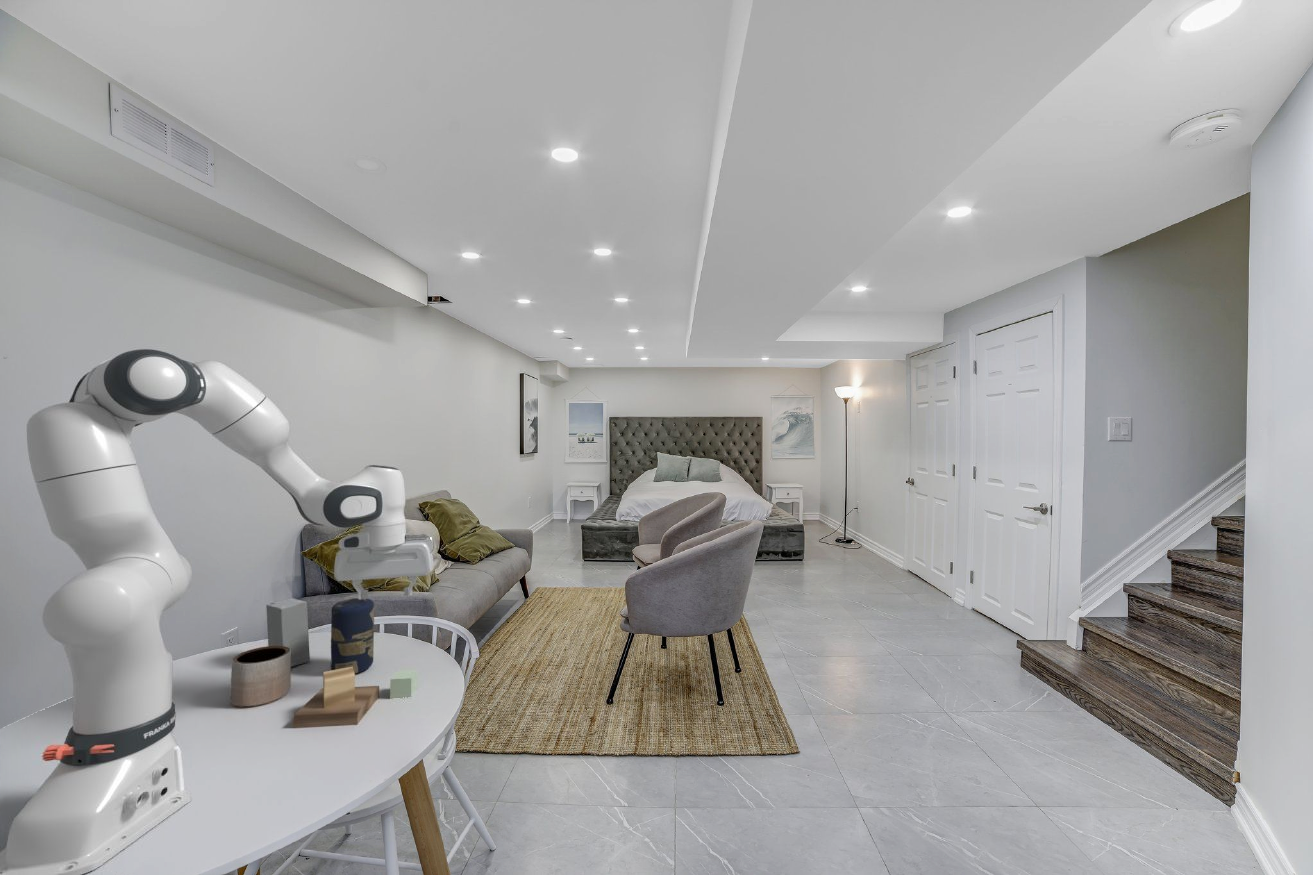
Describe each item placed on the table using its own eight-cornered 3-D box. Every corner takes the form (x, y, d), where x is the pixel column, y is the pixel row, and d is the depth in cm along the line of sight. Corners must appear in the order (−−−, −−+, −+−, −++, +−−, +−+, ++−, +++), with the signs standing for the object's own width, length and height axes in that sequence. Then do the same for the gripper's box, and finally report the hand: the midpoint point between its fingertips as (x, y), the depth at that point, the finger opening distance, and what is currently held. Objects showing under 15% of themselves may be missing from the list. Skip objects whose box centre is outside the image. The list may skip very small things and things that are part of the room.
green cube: (411, 698, 121) (411, 678, 121) (389, 699, 120) (390, 679, 120) (417, 689, 126) (417, 669, 126) (396, 690, 125) (397, 670, 125)
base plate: (357, 724, 109) (357, 712, 109) (293, 727, 108) (293, 715, 108) (379, 696, 121) (379, 685, 121) (321, 699, 120) (322, 688, 120)
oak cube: (354, 701, 114) (355, 675, 114) (324, 708, 111) (324, 681, 111) (352, 691, 118) (352, 666, 118) (323, 697, 115) (323, 672, 115)
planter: (301, 687, 125) (302, 646, 126) (263, 710, 115) (264, 665, 115) (259, 684, 127) (260, 643, 127) (216, 707, 116) (217, 662, 116)
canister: (370, 674, 133) (372, 601, 133) (326, 680, 129) (328, 605, 129) (375, 659, 142) (376, 591, 142) (334, 664, 138) (335, 594, 138)
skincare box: (310, 662, 140) (311, 601, 140) (279, 671, 134) (280, 608, 134) (294, 655, 144) (295, 595, 144) (264, 664, 138) (265, 602, 138)
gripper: (436, 531, 127) (437, 589, 127) (341, 536, 123) (342, 596, 123) (430, 536, 121) (431, 597, 121) (330, 541, 117) (331, 605, 117)
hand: (385, 597), depth 122 cm, fingers open, 8 cm apart
